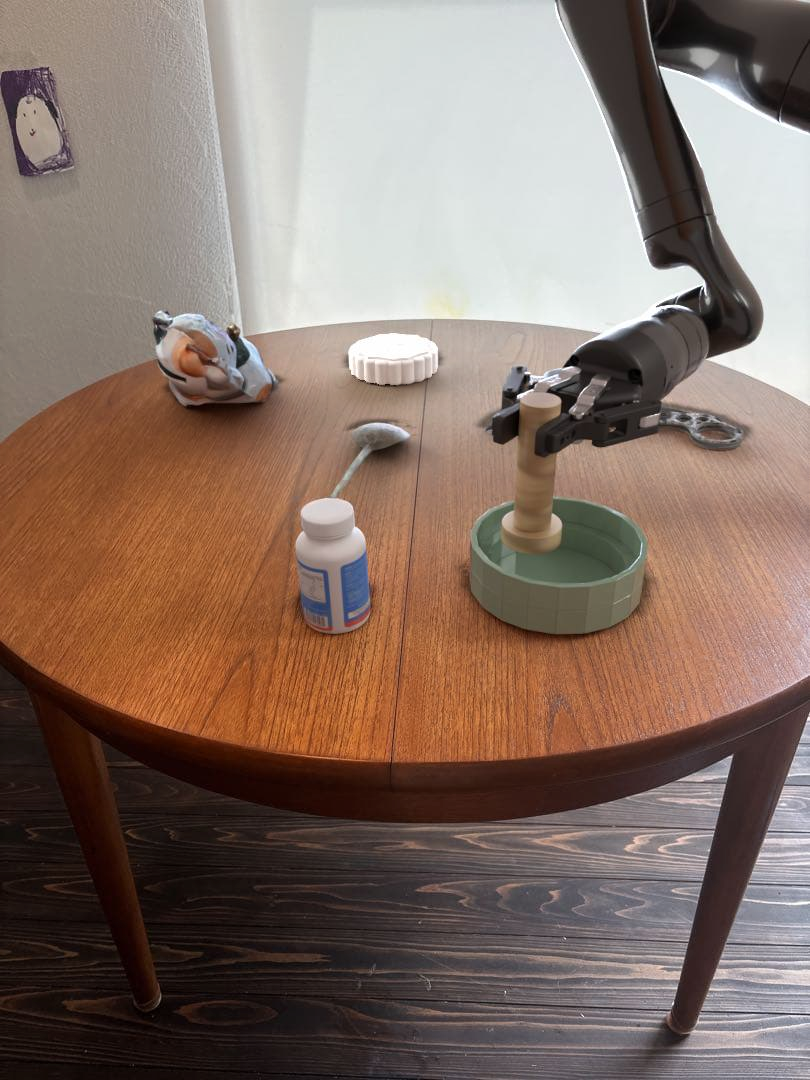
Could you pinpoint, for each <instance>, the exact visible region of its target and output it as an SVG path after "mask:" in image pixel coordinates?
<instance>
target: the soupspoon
mask: <svg viewBox="0 0 810 1080" xmlns="http://www.w3.org/2000/svg"><path fill="white" fill-rule="evenodd" d="M350 438H351V439H352V440H353V442H355V444H356V445H358V446H359V447H360V448H361V449H362V450H361V451H360V452H359V453H358V455H356V457H355V458H354V460H353V461H352V463H351V464H350V466H348V469H347V470H346V471H345V474H344V475H343V476H342V478H341V479H340V481H339V482H338V484H337V485H336V487H335V488H334V490H333V491H332V493H331V494H330V495H328V496H327V497H326V498H336V499H338V497H339V495H340V494H341V493H342V491H343V490H344V489H345V487H346V486H347V484H348V483H349V482H350V480H351V479H352V477H353V476H354V474H355V473H356V471H357V470H358V469H359V467H360V466H361V464H362V463H363V462H364V461H365V460H366V459H367V457H369V455H370V454H371V453H372V452H374V451H378V450H383V449H385V448H389V447H391V446H394V445H397V444H399V443H402V442H404V441H406V440H408V439H409V438H411V435H410V433H409V432H407V431H406V430H404V429H402V428H401V427H398V426H395V425H393V424H389V423H384V422H371V423H366V424H363V425H361V426H358V427H356V428H355V429H353V430H352V431H351V432H350Z"/></svg>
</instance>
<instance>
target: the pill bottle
mask: <svg viewBox="0 0 810 1080" xmlns="http://www.w3.org/2000/svg"><path fill="white" fill-rule="evenodd" d="M300 527H301V529H302V531H301V532H300V533H299V535H298V536H297V538H296V540H295V557H296V566H297V573H298V580H299V581H298V582H299V588H300V596H301V597H300V598H301V607H302V614H303V618H304V621H305V623H306V624H307V626H309V627H310V628H311V629H313V630H314V631H317V632H319V633H322V634H323V633H324V634H328V635H329V634H330V635H340V634H345V633H349V632H353V631H355V630H357V629H359V628H360V627H362V626H363V625H364V624H365V623H366V622H367V620H369V618H370V616H371V615H370V614H371V595H370V583H369V568H368V567H369V566H368V553H367V544H366V543H367V542H366V538H365V535H364V533H363V532H362V531H361V529H359V528H358V527H357V526H356V518H355V511H354V507H353V505H352V504H351V503H350V502H349V501H346V500H344V499H342V498H327V497H325V498H319V499H315V500H312V501H310V502H308V503H307V504H305V505H304V506H303V507H302V508H301V510H300Z"/></svg>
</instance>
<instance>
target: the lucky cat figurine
mask: <svg viewBox="0 0 810 1080" xmlns="http://www.w3.org/2000/svg"><path fill="white" fill-rule="evenodd" d="M151 321H152V323H153V337H154V339H155V340H154V341H155V352H156V357H157V365H158V368H159V370H160V372H161V373H162V375H163V377H164V378H165V379H167V380H168V385H169V389H170V391H171V393H172V395H174V396H175V398H176V399H177V401H178V402H179V404H180V403H182V404H183V405H185V406H187V405H193V404H194V405H193V406H201V405H203V404H244V403H245V404H246V403H252V402H254V403H253V404H255V403H256V404H261V403H260V402H263V401H264V400H265V399H266V398H267V397H268V398H269V396H270V395H269V393H270V391H271V390H272V391H274V389H275V388H276V387H278V386H279V379H277V378H276V377H275V375H274V373H273V371H272V370H271V369H270V368H269V367H265V363H264V359H263V356H262V354H261V353H259V350H258V349H257V347H256V346H255V345H254V344H253V343H252V342H250V341H248V340H247V339H246V338H245V337H242V336H241V328H240V327H239V326H237V325H236V324H235V323H234V322H231V323H228V325H227V326H226V330H224V329H223V328H221V327H220V326H219V325H218V324H215V323H214V322H213V321H212V320H211V319H210V318H208V317H204V315H202V314H199V313H183V314H180V315H177V316H176V317H172V315H171V314H170V312H169V311H168V310H167V309H162V310H158V312H156V313H155V314H154V316H153V317H151ZM268 395H269V396H268ZM268 398H267V399H268ZM267 399H266V400H267ZM183 405H182V406H183Z"/></svg>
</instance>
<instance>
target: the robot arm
mask: <svg viewBox="0 0 810 1080" xmlns="http://www.w3.org/2000/svg"><path fill="white" fill-rule="evenodd" d="M554 7H555V8H554V9H555V13H556V18H557V19H558V22H559V24H560V27H561V29H562V31H563V33H564V35H565V38H566V40H567V41H568V44H569V46H570V48H571V50H572V52H573V54H574V56H575V58H576V60H577V62H578V64H579V66H580V68H581V70H582V72H583V74H584V77H585V79H586V81H587V83H588V86H589V88H590V90H591V92H592V94H593V97H594V100H595V102H596V105H597V106H598V109H599V112H600V115H601V117H602V120H603V123H604V124H605V128H606V130H607V132H608V135H609V138H610V141H611V144H612V146H613V149H614V152H615V155H616V158H617V161H618V164H619V168H620V170H621V174H622V177H623V180H624V184H625V187H626V190H627V193H628V197H629V201H630V204H631V209H632V211H633V215H634V218H635V222H636V226H637V228H638V229H637V230H638V232H639V236H640V239H641V242H642V246H643V249H644V253H645V255H646V258H647V260H648V263H649V265H650V266H651V267H652V269H654V270H659V271H666V270H667V271H669V270H674V269H680V268H686V267H689V268H691V269H693V270H694V271H695V272H696V273H697V274H698V275H699V276H700V277H701V279H702V281H703V283H701V284H700V285H697V286H694V287H692V288H689V289H686V290H683V291H680V292H678V293H676V294H674V295H673V294H672V295H670V296H668V297H666V298H664V299H662V300H659V302H656V303H655V304H653V305H652V306H651V307H650V308H649V309H648V310H647V311H646V312H645V313H643V314H642V315H641V316H639V317H637V318H635V319H631V320H627V321H625V322H622V323H619V324H618V325H616V326H614V327H612V328H611V329H609V330H607V331H605V332H603V333H601V334H599V335H598V336H596V337H594V338H592V339H590V340H588V341H586V342H585V343H583V344H581V345H580V346H578V347H577V348H576V349H575V350H574V351H573V352H572V353H571V355H570V356H569V358H568V359H567V360H566V361H565V363H564V365H563V366H562V367H560V368H556V369H550V370H548V371H546V372H545V373H544V374H543V376H539V375H531V372H529V371H527V370H528V368H527V367H526V366H524V365H520V364H519V365H514V366H512V367H511V369H510V372H509V374H508V376H507V378H506V380H505V382H504V385H503V386H502V388H501V407H500V409H501V410H500V411H499V412H497V413H495V414H494V415H493V416H492V420H491V421H492V422H491V423H492V430H491V436H492V441H493V443H495V444H498V445H502V446H505V445H506V444H507V443H509V442H511V441H513V440H514V439H515V438H518V430H519V413H520V399H521V397H522V396H524V395H526V394H529V393H535V392H543V393H550V394H553V395H556V396H558V397H559V398H560V399H561V412H560V415H559V416H557V417H555V418H553V419H552V420H550V421H549V422H547V423H545V424H544V425H542V426H541V427H539V428H538V429H537V431H536V435H535V449H534V454H535V455H536V456H539V457H543V458H546V457H547V456H549V455H550V454H554V453H557V454H558V453H560V452H561V451H563V450H564V449H566V448H567V447H569V446H570V445H581V444H583V442H584V441H585V440H586V441H591V446H593V447H595V448H598V449H599V448H601V449H602V448H608V447H612V446H616V445H618V444H622V443H626V442H629V441H633V440H638V439H642V438H645V437H649V436H653V435H656V434H658V431H659V430H658V425H659V421H660V414H661V407H662V406H663V402H662V400H663V399H665V398H666V397H667V396H668V395H669V394H670V393H671V392H672V391H673V390H674V389H675V388H676V387H677V386H678V385H679V384H681V383H682V382H684V381H685V380H687V379H688V378H690V376H693V374H694V373H695V372H696V371H697V370H698V369H699V368H700V367H701V366H702V364H703V363H704V362H705V361H706V360H708V359H711V358H714V357H717V356H720V355H723V354H727V353H730V352H733V351H736V350H740V349H742V348H745V347H748V346H749V345H751V344H753V343H754V342H755V341H756V340H757V338H758V337H759V335H760V334H761V331H762V328H763V324H764V317H765V315H764V313H765V312H764V305H763V302H762V299H761V297H760V294H759V293H758V291H757V289H756V288H755V286H754V284H753V282H752V281H751V279H750V278H749V277H748V275H747V273H746V271H745V270H744V269H743V268H742V266H741V264H740V263H739V261H738V259H737V258H736V256H735V254H734V253H733V250H732V249H731V247H730V246H729V244H728V241H727V239H726V238H725V237H724V234H723V232H722V230H721V227H720V225H719V222H718V219H717V216H716V212H715V208H714V205H713V201H712V197H711V194H710V191H709V187H708V183H707V180H706V176H705V173H704V170H703V167H702V165H701V162H700V159H699V156H698V154H697V152H696V149H695V147H694V144H693V142H692V140H691V138H690V137H689V134H688V132H687V130H686V128H685V126H684V124H683V122H682V120H681V118H680V116H679V114H678V112H677V110H676V107H675V105H674V103H673V101H672V98H671V95H670V94H669V91H668V88H667V87H666V83H665V80H664V78H663V75H662V72H661V69H664V70H667V71H671V72H675V73H679V74H681V75H685V76H687V77H690V78H693V79H695V80H697V81H700V82H701V83H703V84H705V85H707V86H709V87H710V88H711V89H714V90H715V91H716V92H718V93H719V94H721V95H723V96H725V97H726V98H728V99H729V100H731V101H733V102H734V103H736V104H737V105H740V106H741V107H743V108H745V109H747V110H749V111H751V112H753V113H755V114H757V115H759V116H761V117H763V118H764V119H767V120H769V121H771V122H772V123H776V124H778V125H780V126H783V127H785V128H788V129H791V130H794V131H796V132H799V133H801V134H803V135H807V136H809V137H810V2H808V1H803V0H554ZM613 428H614V430H612V431H610V429H613Z"/></svg>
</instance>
